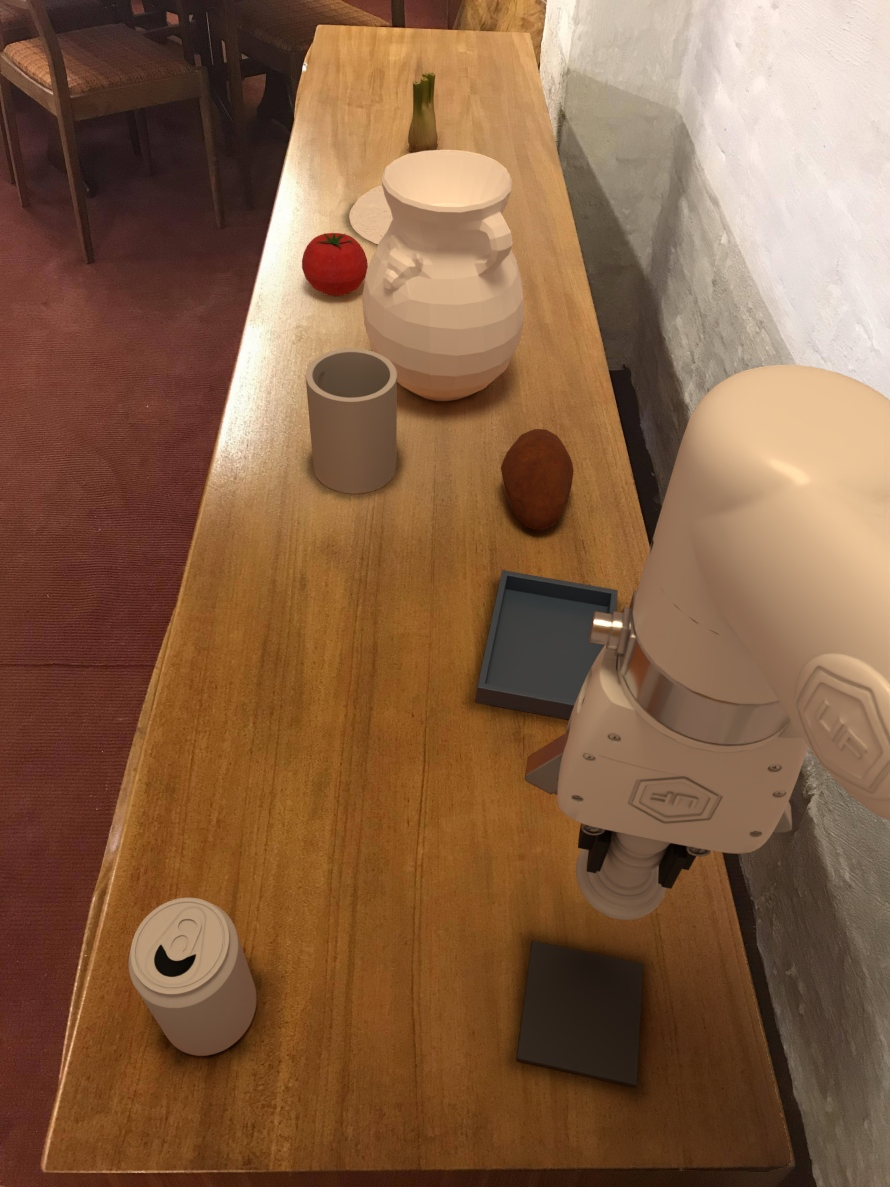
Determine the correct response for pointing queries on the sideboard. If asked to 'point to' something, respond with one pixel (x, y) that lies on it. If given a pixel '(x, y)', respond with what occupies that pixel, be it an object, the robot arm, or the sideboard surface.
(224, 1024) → the beverage can
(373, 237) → the plaque
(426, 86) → the fennel bulb
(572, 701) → the tray
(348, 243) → the tomato
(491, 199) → the white vase
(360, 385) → the cup
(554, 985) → the mat
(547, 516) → the potato
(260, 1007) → the sideboard surface
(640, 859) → the chess piece
